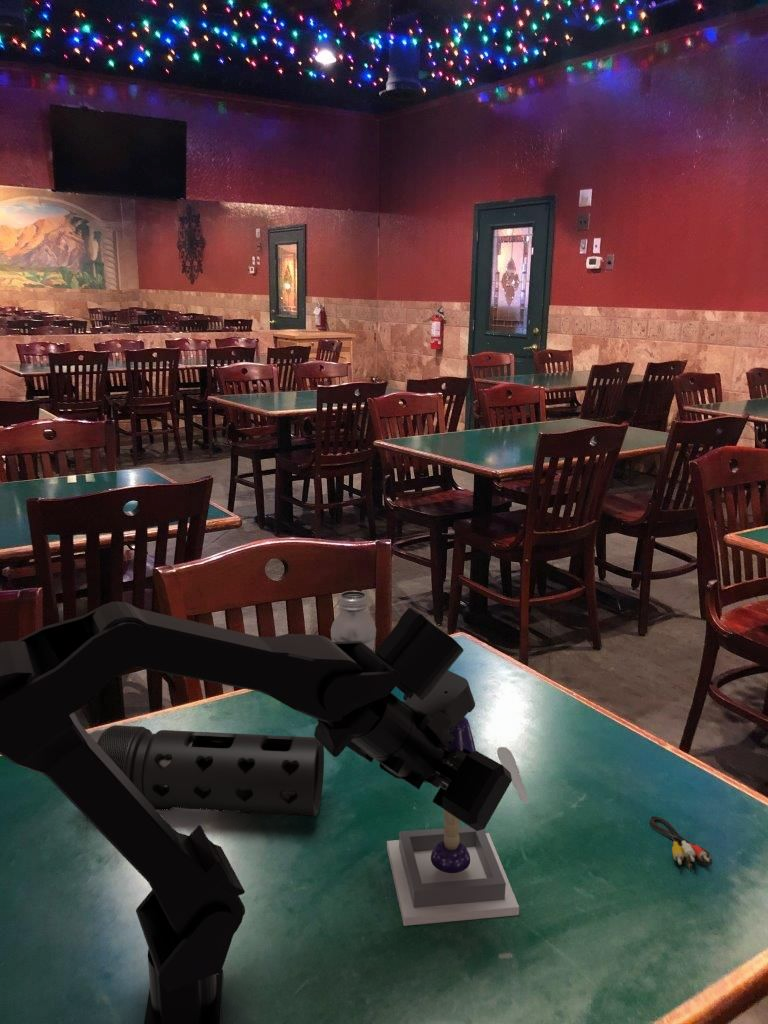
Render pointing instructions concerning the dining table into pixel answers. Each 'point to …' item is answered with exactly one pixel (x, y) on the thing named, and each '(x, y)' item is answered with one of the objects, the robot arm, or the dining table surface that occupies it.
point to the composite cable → (681, 845)
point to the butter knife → (512, 771)
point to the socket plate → (449, 879)
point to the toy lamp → (451, 851)
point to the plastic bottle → (353, 620)
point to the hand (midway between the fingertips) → (460, 787)
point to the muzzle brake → (219, 769)
